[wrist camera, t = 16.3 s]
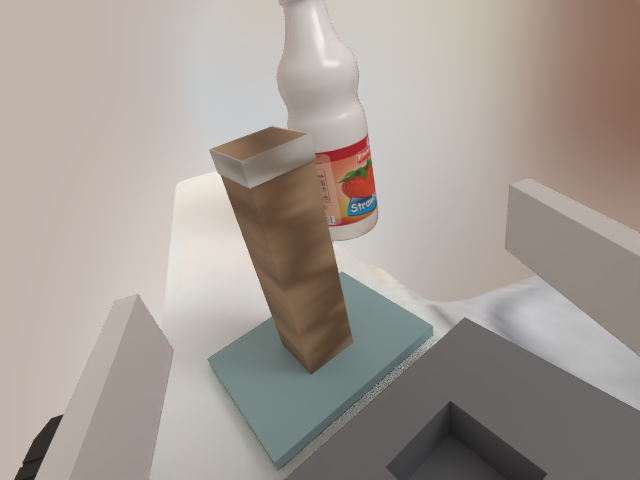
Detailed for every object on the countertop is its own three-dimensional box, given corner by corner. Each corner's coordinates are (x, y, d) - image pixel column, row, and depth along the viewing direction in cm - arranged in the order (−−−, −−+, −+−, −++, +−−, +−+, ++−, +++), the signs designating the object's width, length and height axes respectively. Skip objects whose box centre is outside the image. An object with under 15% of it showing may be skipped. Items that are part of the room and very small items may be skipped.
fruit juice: (321, 209, 55) (273, -9, 41) (383, 205, 52) (354, -31, 38) (303, 243, 48) (236, -8, 33) (374, 242, 45) (335, -36, 30)
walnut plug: (322, 315, 34) (271, 126, 25) (355, 342, 31) (310, 133, 21) (280, 344, 32) (209, 149, 23) (311, 376, 29) (240, 161, 19)
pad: (343, 278, 40) (341, 271, 39) (433, 334, 31) (432, 326, 30) (211, 366, 33) (207, 358, 32) (278, 470, 24) (274, 462, 24)
